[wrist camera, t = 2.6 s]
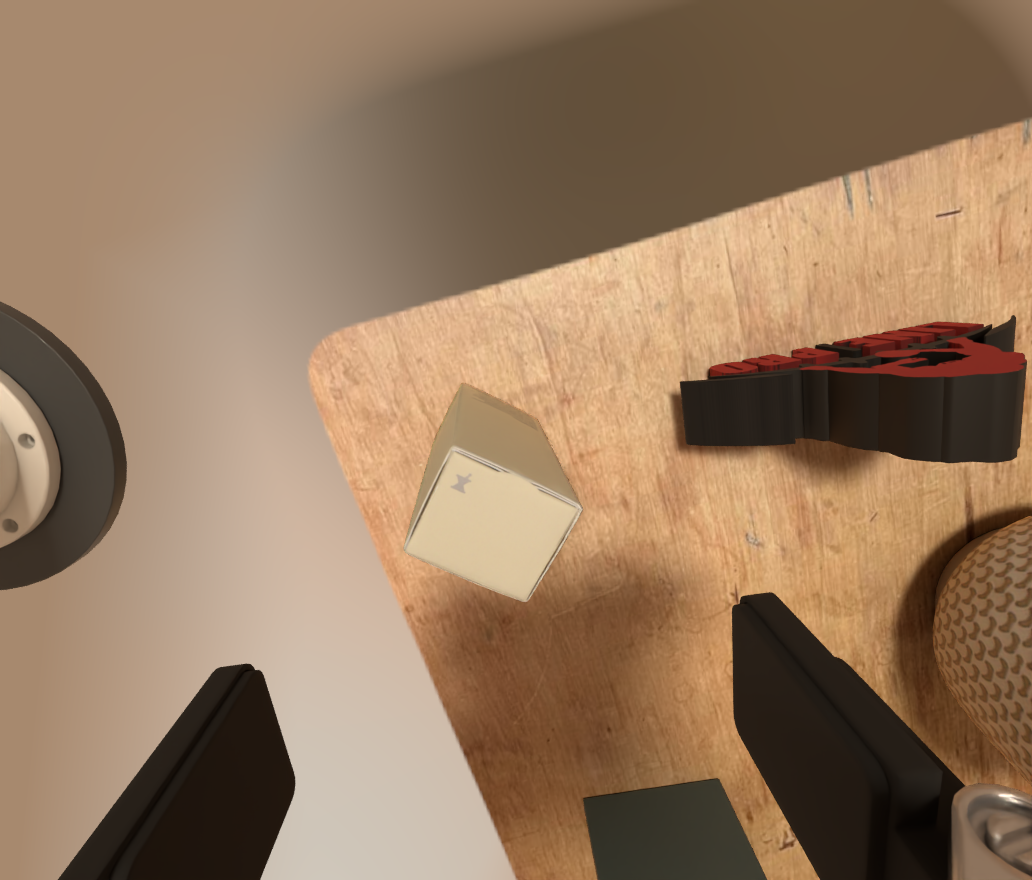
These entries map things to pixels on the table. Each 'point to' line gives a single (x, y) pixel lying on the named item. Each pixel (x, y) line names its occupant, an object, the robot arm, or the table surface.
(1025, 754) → the planter
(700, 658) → the table surface
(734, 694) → the robot arm
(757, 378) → the extruded letter emblem
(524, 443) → the box
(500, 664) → the table surface
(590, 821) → the green stepped block
